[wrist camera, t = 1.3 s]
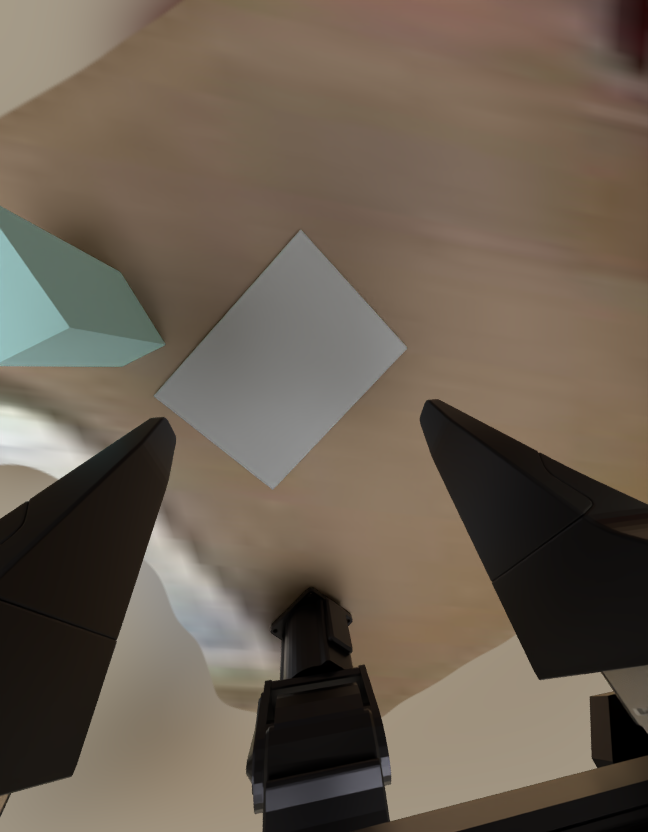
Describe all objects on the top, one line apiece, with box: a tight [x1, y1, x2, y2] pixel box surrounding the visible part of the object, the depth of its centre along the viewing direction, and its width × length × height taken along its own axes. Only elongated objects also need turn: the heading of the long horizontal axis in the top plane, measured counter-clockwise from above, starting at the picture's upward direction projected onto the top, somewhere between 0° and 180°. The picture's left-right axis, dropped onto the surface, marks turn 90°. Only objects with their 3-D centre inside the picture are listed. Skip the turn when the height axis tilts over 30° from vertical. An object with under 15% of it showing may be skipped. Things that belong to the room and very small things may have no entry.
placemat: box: [154, 230, 407, 490], centre depth 22 cm, size 18×13×1 cm
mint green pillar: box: [0, 206, 166, 367], centre depth 15 cm, size 4×6×9 cm, turn 26°
